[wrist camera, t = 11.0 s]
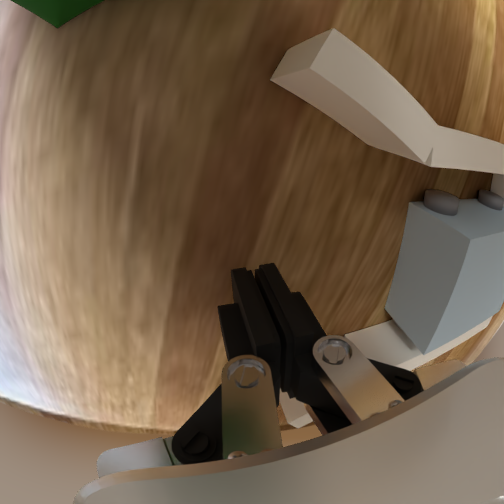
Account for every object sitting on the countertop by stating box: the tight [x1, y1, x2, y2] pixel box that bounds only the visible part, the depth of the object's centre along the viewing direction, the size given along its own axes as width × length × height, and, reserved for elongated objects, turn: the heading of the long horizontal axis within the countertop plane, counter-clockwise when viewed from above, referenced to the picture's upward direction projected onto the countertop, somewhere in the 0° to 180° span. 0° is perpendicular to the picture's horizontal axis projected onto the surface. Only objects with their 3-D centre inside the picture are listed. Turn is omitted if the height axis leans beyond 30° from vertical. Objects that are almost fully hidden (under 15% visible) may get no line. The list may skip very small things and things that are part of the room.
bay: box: [270, 28, 504, 428], centre depth 13 cm, size 19×18×4 cm
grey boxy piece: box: [384, 189, 504, 355], centre depth 13 cm, size 8×9×4 cm
